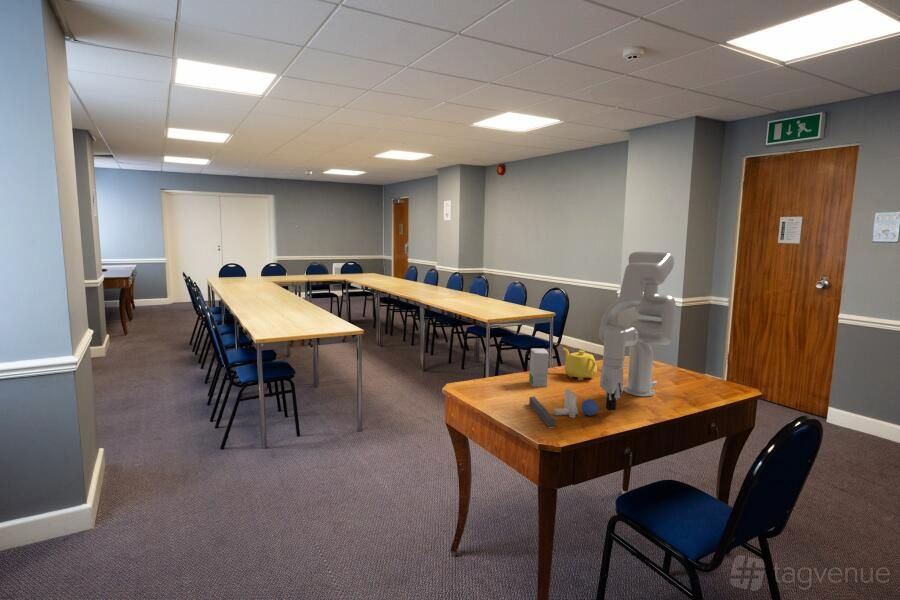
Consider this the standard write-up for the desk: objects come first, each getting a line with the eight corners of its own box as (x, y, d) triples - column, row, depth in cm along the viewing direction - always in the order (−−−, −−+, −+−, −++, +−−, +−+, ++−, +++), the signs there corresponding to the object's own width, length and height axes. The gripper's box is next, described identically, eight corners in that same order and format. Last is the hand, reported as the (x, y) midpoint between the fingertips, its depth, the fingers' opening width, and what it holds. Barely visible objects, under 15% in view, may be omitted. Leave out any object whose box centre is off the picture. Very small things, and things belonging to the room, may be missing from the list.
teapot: (584, 384, 221) (585, 356, 219) (552, 373, 237) (553, 347, 236) (604, 379, 228) (606, 352, 226) (572, 369, 245) (573, 344, 243)
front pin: (575, 408, 185) (553, 409, 184) (577, 407, 183) (555, 408, 181) (576, 414, 184) (554, 415, 183) (578, 414, 182) (556, 414, 181)
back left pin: (572, 415, 182) (573, 393, 181) (576, 417, 180) (577, 394, 179) (567, 416, 181) (568, 394, 180) (572, 418, 179) (573, 395, 178)
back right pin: (567, 410, 187) (568, 388, 186) (571, 412, 185) (572, 390, 184) (562, 411, 186) (563, 389, 185) (567, 413, 184) (568, 391, 183)
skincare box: (528, 381, 223) (530, 348, 221) (543, 381, 224) (544, 348, 222) (533, 387, 215) (534, 352, 213) (548, 387, 216) (549, 352, 214)
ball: (578, 397, 184) (583, 408, 187) (579, 409, 180) (584, 420, 182) (594, 394, 182) (599, 405, 185) (595, 405, 177) (600, 417, 180)
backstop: (534, 404, 194) (534, 396, 193) (554, 427, 170) (554, 419, 170) (529, 404, 193) (529, 396, 193) (548, 428, 170) (549, 419, 169)
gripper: (595, 356, 189) (593, 402, 192) (612, 367, 175) (610, 416, 177) (614, 356, 190) (611, 402, 193) (632, 366, 176) (629, 416, 178)
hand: (610, 409), depth 185 cm, fingers closed
